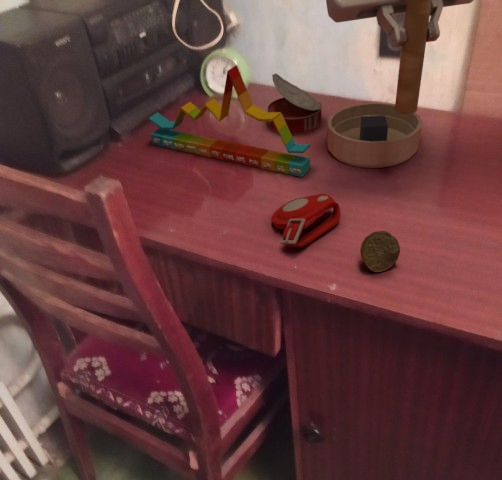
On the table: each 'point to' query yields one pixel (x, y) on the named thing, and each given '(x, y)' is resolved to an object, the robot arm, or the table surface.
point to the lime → (379, 251)
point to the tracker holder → (305, 218)
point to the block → (373, 128)
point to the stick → (412, 55)
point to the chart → (229, 149)
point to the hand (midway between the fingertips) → (416, 41)
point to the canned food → (295, 108)
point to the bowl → (373, 152)
